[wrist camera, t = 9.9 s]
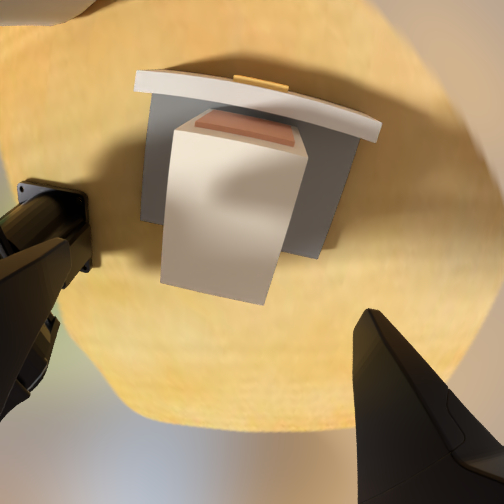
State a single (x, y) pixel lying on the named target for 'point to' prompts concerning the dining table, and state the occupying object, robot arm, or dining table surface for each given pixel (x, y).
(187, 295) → the dining table surface
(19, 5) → the can
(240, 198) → the carton
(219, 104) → the grey drawer
